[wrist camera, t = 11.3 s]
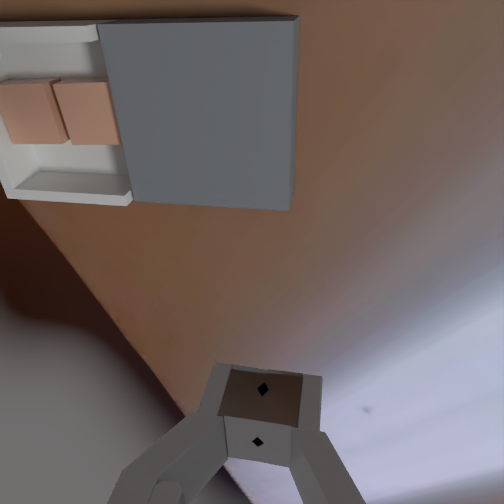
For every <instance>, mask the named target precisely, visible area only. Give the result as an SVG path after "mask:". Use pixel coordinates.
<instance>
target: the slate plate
mask: <svg viewBox="0 0 504 504" xmlns="http://www.w3.org/2000/svg"><path fill="white" fill-rule="evenodd" d="M97 26H98V31H99V36H100V40H101V45H102V50H103V55H104V59H105V64H106V69H107V73H108V78H109V83H110V87H111V92H112V97H113V102H114V106H115V111H116V116H117V120H118V125H119V130H120V135H121V139H122V144H123V149H124V153H125V158H126V163H127V168H128V172H129V177H130V182H131V186H132V191H133V196H134V201H139V202H155V203H170V204H186V205H202V206H217V207H233V208H249V209H264V210H280V211H289V210H290V206H291V202H292V198H293V194H294V181H295V148H296V115H297V81H298V48H299V16H269V17H218V18H167V19H122V20H117V21H112V22H107V23H102V24H97Z"/></svg>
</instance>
